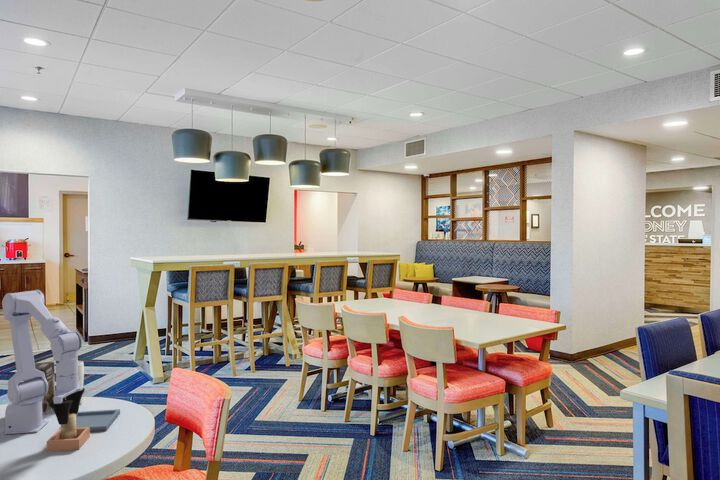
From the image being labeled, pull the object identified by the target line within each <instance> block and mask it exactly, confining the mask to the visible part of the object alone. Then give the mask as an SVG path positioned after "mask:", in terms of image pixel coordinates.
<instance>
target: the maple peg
mask: <svg viewBox="0 0 720 480" xmlns="http://www.w3.org/2000/svg"><path fill="white" fill-rule="evenodd" d="M60 427H61V439H75V438H77V430H76V414H73V413H71V414H69V419H68V423H67V424H62V425H60Z"/></svg>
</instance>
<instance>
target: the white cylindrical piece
mask: <svg viewBox="0 0 720 480" xmlns="http://www.w3.org/2000/svg"><path fill="white" fill-rule="evenodd" d="M84 377H85V364H84V361H83V360H78V380H80V382H81V386H80V387H83V388H84V383H85V382H84V381H85V379H84ZM83 396H84V394H83V395H82V397H81V400H80V405H81V404H82V403H83V400H84V398H83Z"/></svg>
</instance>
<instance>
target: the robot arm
mask: <svg viewBox="0 0 720 480" xmlns="http://www.w3.org/2000/svg"><path fill="white" fill-rule="evenodd" d="M45 301H46V300H45V294H44V293H43V292H42V291H41V289H34V290H27V291H20V292H12V293H11V292H7V293H5V295H4V296H3V299H2V301H1V305H2V314H3V317H4V320H6V321H8V322H9V327H10V335H11V342H12V348H13V354H14V363H15V368H16V369H15V370H16V372H14V373H15V374H14V375H12V377H10V378H9V379H8V380H7V398H8V400H9V403H8V404H7V405H6V407H5V412H4V413H5V414H4V415H5V417H4V418H5V420H4V421H5V432H4V435H12V434H15V435H16V434H27V433H30V434H31V433H38V432H39V431H40V430H41V429H42V428H43V427H45V426H46V425H47V424H48V423H49V421H48V420H43V418H44V417H43V415H42V399H44V395H46V394H47V392H48V382H47V380H46V378H45V374H44V372H42V371H39V370H37V369H36V368H35V363H36V362H35V357H34V356H35V355H34V350H33V343H32V336H31V330H30V323H29V320H30V319H31V317H33V318H34V319H35V320H36V321H37V322H38V323H39V325H40V331H41V332H42V334H43V335H44V337H46V338H47V340H48V341H49V342H50V349H51V352H52V358H53V360H54V361H55V396H54V397H53V398H54V400H52V401H51V402H50V407H51V408H52V409H51V410H53V412H54V414H55V416H56V420H57V423H58V425H59V426H61V425H62V424H67V423H68V419H69V414H71V413H73V414H77V413H78V412H79V409H80V405H81V404H80V400H81V397H82V395H83V396H84V393H85V391H86V389H85V388H84V386H83V387H80V386H81V382H80V380H78V361H79V360H78V359H79V357H78V355H79V354H78V353H79V352H78V351H79V350H81V347H82V345H83V344H82V343H83V340H82V337H81V334H80V333H79V332H78V331H76V330H74V331H73V330H72V329H69V328H68V327H67V326H66V325H65V323H64V322H63V321H62V320H61V319H60V318H59V317H56V316H55V317H53V316H52V314H51V312H50V310H49V309H48V307H46V305H45ZM31 378H35V379H31ZM27 379H31V380H27ZM24 380H27V381H24Z"/></svg>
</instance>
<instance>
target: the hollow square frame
mask: <svg viewBox="0 0 720 480" xmlns="http://www.w3.org/2000/svg"><path fill="white" fill-rule="evenodd" d="M76 430H77V438H75V439H61V429H58V430H57V431H56V432H55V433H54V434H53V435H52V436H51V437H50V438H48V440H46V451H47V452H48V453H49V452H63V451H75V450H80V449H81V448H82V446H84V444H85V443H86V442H87V441H88V439H89V438H90V437H91V432H90V427H83V428H76ZM47 452H46V453H47Z"/></svg>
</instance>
